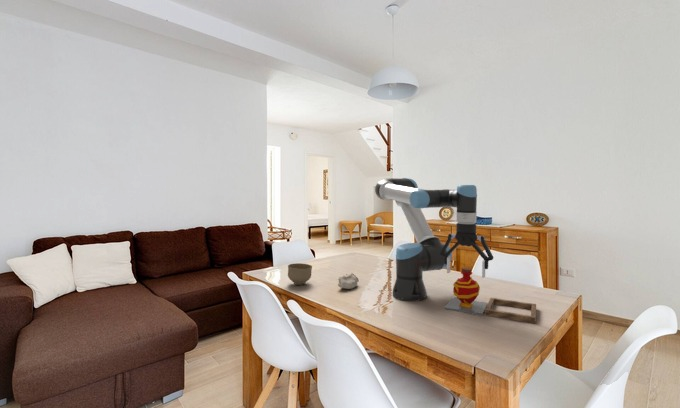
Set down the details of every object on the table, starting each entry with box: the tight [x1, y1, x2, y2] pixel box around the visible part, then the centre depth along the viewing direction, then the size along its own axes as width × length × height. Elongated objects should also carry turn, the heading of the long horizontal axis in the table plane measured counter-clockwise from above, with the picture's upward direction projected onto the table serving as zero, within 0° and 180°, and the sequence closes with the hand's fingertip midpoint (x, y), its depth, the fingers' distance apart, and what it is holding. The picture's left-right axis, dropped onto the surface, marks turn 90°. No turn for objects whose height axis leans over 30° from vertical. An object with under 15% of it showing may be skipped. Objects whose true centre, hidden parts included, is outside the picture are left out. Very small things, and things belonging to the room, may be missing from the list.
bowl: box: [287, 262, 313, 286], centre depth 170 cm, size 13×13×10 cm
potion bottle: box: [452, 267, 481, 307], centre depth 133 cm, size 10×10×15 cm
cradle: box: [484, 297, 537, 324], centre depth 126 cm, size 16×16×2 cm
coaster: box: [444, 297, 488, 316], centre depth 133 cm, size 14×14×1 cm
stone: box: [337, 272, 360, 290], centre depth 163 cm, size 8×12×10 cm, turn 149°
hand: (465, 274), depth 133 cm, fingers open, 13 cm apart
